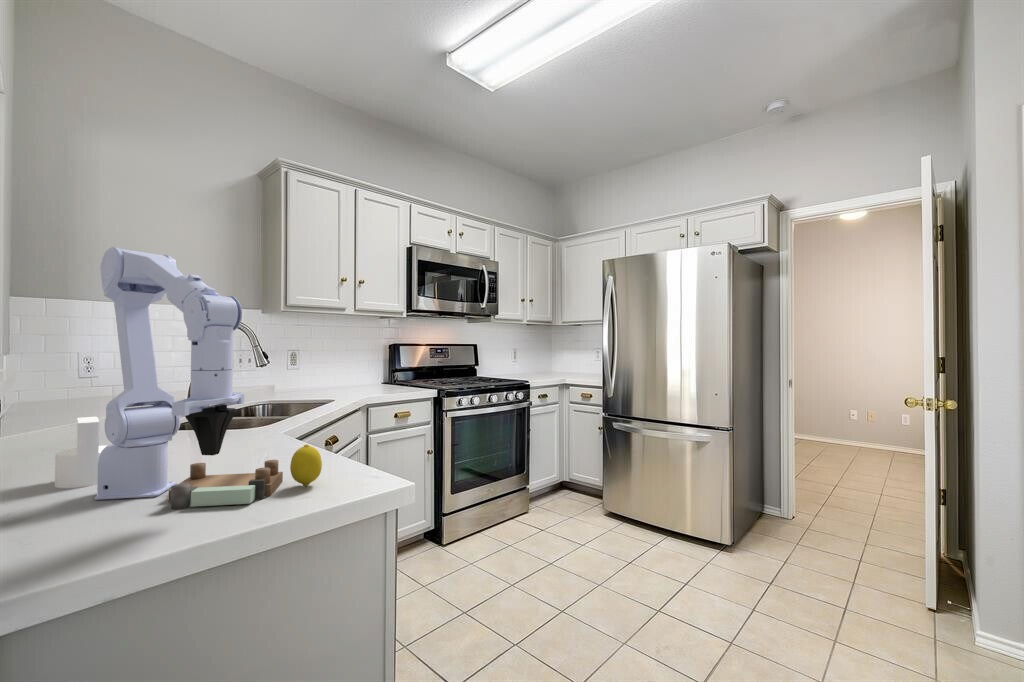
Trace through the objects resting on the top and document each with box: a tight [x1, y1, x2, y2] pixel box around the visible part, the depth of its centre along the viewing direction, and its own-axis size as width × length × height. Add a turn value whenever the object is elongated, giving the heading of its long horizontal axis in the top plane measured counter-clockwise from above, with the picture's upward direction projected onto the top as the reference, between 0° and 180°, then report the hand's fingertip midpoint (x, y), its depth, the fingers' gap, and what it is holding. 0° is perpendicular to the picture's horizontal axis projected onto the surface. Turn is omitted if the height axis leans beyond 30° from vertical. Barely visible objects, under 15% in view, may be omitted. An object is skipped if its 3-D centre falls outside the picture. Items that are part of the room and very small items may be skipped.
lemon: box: [289, 444, 323, 487], centre depth 91 cm, size 6×6×8 cm
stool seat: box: [167, 459, 284, 510], centre depth 85 cm, size 16×13×4 cm
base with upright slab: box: [54, 416, 107, 489], centre depth 93 cm, size 9×9×12 cm
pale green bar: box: [190, 485, 255, 508], centre depth 80 cm, size 9×2×2 cm, turn 102°
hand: (210, 454), depth 76 cm, fingers closed
